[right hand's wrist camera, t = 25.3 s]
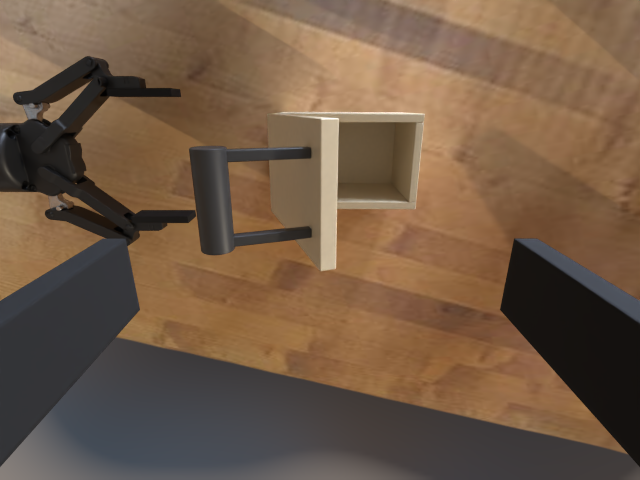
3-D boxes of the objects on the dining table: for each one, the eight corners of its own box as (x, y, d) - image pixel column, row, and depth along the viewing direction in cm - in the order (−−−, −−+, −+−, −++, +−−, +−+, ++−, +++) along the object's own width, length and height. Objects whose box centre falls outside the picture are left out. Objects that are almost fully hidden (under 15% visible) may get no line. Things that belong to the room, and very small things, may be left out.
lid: (339, 118, 21) (185, 119, 18) (336, 269, 24) (205, 288, 22) (278, 113, 35) (186, 113, 32) (281, 210, 38) (198, 217, 36)
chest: (401, 112, 46) (424, 113, 35) (395, 187, 49) (415, 209, 39) (283, 112, 46) (273, 113, 35) (285, 187, 49) (277, 209, 39)
